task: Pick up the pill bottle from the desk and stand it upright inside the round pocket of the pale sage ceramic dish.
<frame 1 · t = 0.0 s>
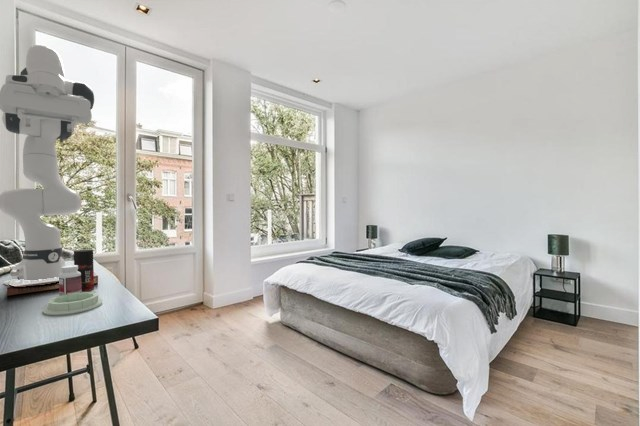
hand: (49, 128, 90), 54 cm above the table, tool tilted 30°, fingers open, 8 cm apart
pill bottle: (70, 298, 112), on the table
dish: (74, 307, 101), on the table
deodorant: (84, 289, 122), on the table
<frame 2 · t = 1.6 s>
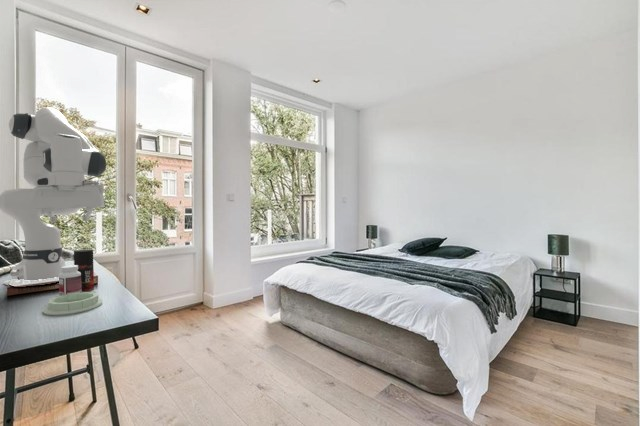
hand: (70, 221, 109), 27 cm above the table, tool pointing down, fingers open, 8 cm apart
nothing on the table moved.
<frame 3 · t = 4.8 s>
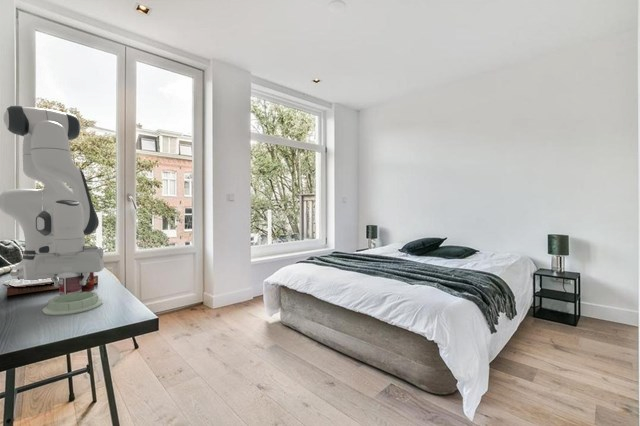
hand: (70, 285, 111), 4 cm above the table, tool pointing down, fingers closed on pill bottle, 6 cm apart
pill bottle: (70, 297, 112), on the table, touching gripper
everything else where it was.
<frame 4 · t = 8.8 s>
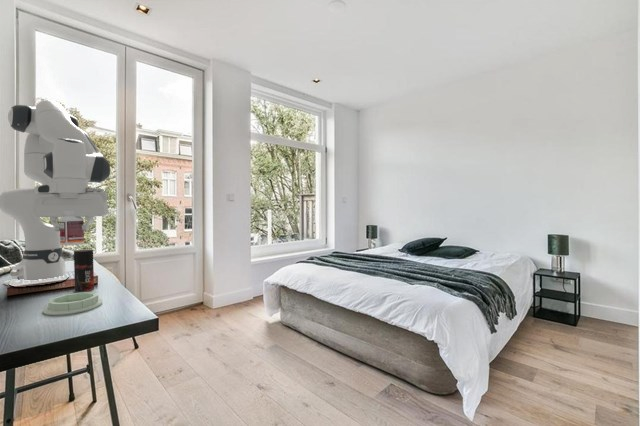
hand: (72, 230, 103), 24 cm above the table, tool pointing down, fingers closed on pill bottle, 6 cm apart
pill bottle: (72, 245, 103), point 20 cm above the table, touching gripper
everything else where it was.
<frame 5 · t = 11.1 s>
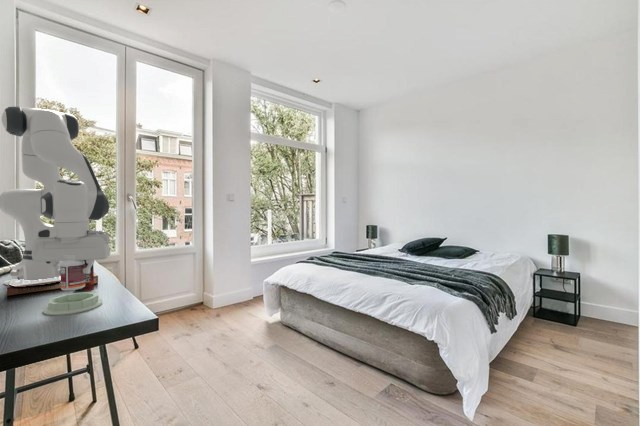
hand: (73, 274, 101), 10 cm above the table, tool pointing down, fingers closed on pill bottle, 6 cm apart
pill bottle: (73, 289, 101), point 6 cm above the table, touching gripper
everything else where it was.
when the fingers open (6 cm above the table, at t = 12.9 s): pill bottle stays where it is, resting on dish.
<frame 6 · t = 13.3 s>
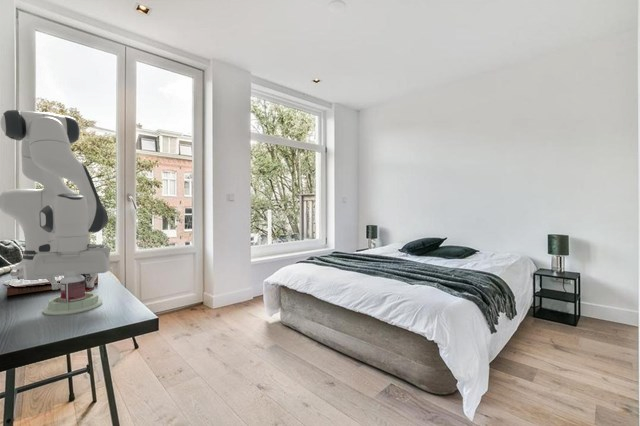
hand: (73, 288, 101), 6 cm above the table, tool pointing down, fingers open, 8 cm apart
pill bottle: (73, 305, 101), point 1 cm above the table, touching dish
everything else where it was.
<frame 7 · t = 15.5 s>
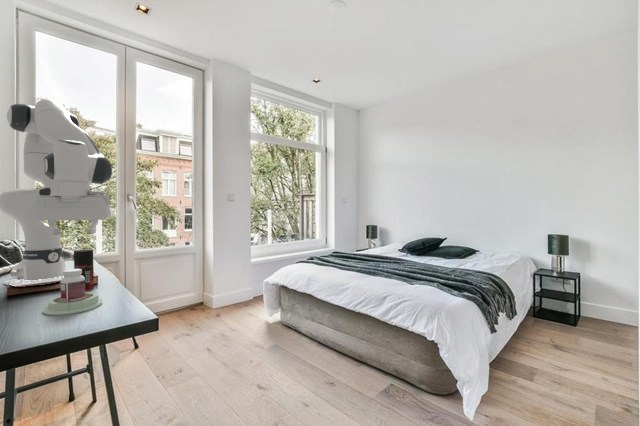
hand: (73, 234, 102), 23 cm above the table, tool pointing down, fingers open, 8 cm apart
nothing on the table moved.
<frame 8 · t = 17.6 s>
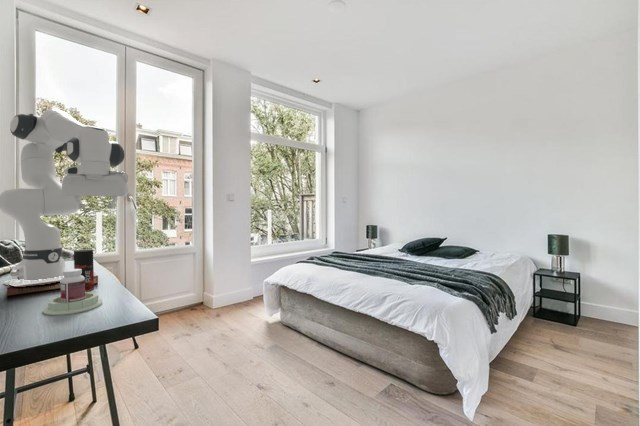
hand: (96, 208, 116), 31 cm above the table, tool pointing down, fingers open, 8 cm apart
nothing on the table moved.
at the end: pill bottle 0.1 cm off-centre on the dish, point 0.6 cm above the dish's base; pill bottle tilted 0°; the gripper is holding nothing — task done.
